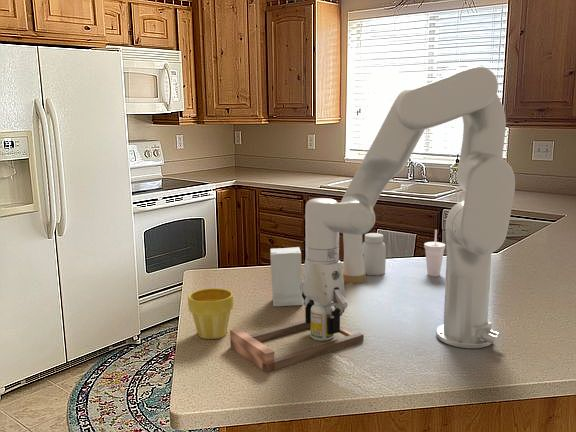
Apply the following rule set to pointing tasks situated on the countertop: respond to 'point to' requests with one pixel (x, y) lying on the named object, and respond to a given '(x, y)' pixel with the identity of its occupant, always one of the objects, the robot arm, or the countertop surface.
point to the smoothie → (434, 256)
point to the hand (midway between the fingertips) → (322, 326)
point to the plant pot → (211, 311)
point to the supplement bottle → (319, 322)
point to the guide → (265, 356)
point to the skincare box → (286, 276)
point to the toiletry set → (363, 257)
